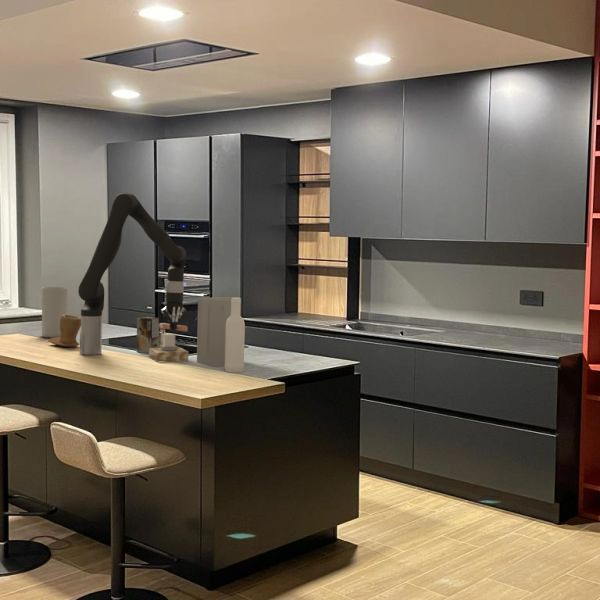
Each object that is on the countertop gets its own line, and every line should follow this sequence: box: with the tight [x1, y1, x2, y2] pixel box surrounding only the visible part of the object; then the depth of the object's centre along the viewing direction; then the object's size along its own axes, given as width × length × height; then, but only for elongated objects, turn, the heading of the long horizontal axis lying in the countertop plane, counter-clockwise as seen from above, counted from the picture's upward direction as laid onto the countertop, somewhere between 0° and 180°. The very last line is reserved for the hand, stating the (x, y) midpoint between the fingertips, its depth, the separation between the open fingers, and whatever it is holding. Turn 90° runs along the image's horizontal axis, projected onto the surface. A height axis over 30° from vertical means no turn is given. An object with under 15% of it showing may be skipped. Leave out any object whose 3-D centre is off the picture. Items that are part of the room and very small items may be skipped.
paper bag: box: [196, 296, 242, 367], centre depth 368 cm, size 19×15×28 cm
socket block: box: [148, 346, 189, 363], centre depth 376 cm, size 14×14×4 cm
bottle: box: [224, 297, 246, 374], centre depth 349 cm, size 8×8×30 cm
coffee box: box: [136, 316, 161, 354], centre depth 395 cm, size 9×6×16 cm
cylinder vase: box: [41, 286, 68, 339], centre depth 439 cm, size 12×12×25 cm
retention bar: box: [160, 322, 188, 332], centre depth 381 cm, size 3×16×2 cm, turn 51°
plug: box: [160, 333, 179, 351], centre depth 376 cm, size 7×7×11 cm
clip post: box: [160, 328, 166, 345], centre depth 386 cm, size 5×5×12 cm
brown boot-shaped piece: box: [47, 314, 81, 348], centre depth 406 cm, size 15×12×15 cm
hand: (173, 330), depth 377 cm, fingers closed
